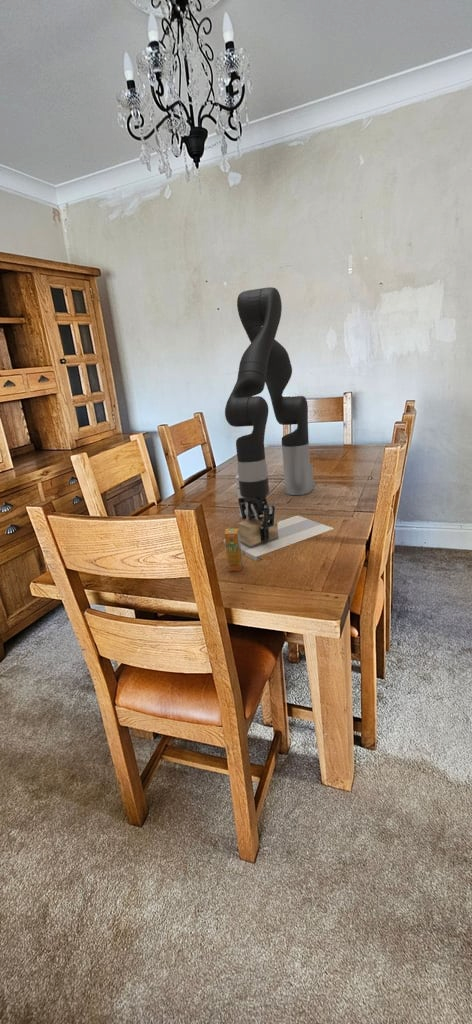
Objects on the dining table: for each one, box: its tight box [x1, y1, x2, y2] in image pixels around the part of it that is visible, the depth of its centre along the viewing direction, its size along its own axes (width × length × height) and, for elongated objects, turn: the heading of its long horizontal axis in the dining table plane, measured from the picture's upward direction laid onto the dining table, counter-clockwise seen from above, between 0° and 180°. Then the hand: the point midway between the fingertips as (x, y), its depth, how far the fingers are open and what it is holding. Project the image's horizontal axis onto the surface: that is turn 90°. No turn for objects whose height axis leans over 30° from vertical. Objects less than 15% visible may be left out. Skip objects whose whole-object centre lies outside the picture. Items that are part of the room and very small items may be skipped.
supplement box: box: [224, 527, 244, 572], centre depth 115 cm, size 3×3×10 cm
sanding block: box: [237, 514, 278, 548], centre depth 127 cm, size 9×5×6 cm, turn 122°
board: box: [222, 514, 334, 562], centre depth 131 cm, size 26×16×1 cm, turn 122°
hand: (259, 537), depth 128 cm, fingers closed on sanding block, 5 cm apart
